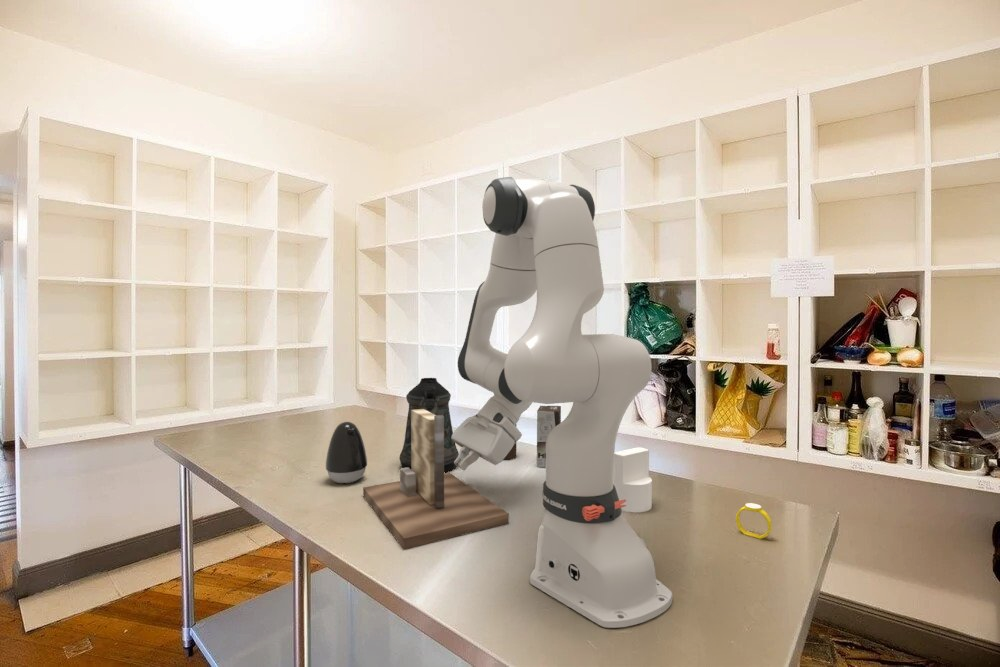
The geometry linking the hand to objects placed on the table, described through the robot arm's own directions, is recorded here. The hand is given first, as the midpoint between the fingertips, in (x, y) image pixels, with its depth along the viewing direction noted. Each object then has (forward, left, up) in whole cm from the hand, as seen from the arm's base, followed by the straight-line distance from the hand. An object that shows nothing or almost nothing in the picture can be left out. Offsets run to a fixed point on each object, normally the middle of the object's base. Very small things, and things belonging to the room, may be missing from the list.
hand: (458, 467), depth 109 cm
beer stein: (+25, -3, -8) cm, 26 cm away
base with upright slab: (-22, -32, -8) cm, 40 cm away
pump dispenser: (+26, +20, -8) cm, 33 cm away
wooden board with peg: (-2, +8, -7) cm, 11 cm away
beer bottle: (+24, -26, -8) cm, 36 cm away
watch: (-45, -41, -8) cm, 62 cm away
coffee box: (+12, -34, -8) cm, 37 cm away
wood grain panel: (0, +8, -5) cm, 9 cm away
